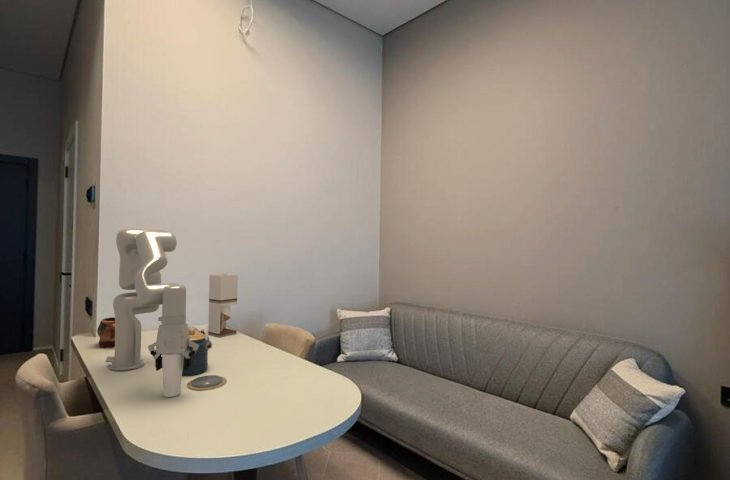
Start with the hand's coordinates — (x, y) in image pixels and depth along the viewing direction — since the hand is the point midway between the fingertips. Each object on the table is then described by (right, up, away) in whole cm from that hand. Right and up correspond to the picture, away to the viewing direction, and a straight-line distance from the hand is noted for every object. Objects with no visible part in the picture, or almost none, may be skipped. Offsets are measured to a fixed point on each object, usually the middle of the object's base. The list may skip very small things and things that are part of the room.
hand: (173, 369), depth 133 cm
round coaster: (+7, -9, +11) cm, 16 cm away
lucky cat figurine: (-18, -10, +59) cm, 62 cm away
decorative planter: (-62, -9, +60) cm, 87 cm away
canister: (-5, -10, +25) cm, 27 cm away
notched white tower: (-16, -10, +89) cm, 91 cm away
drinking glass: (0, -9, 0) cm, 9 cm away
